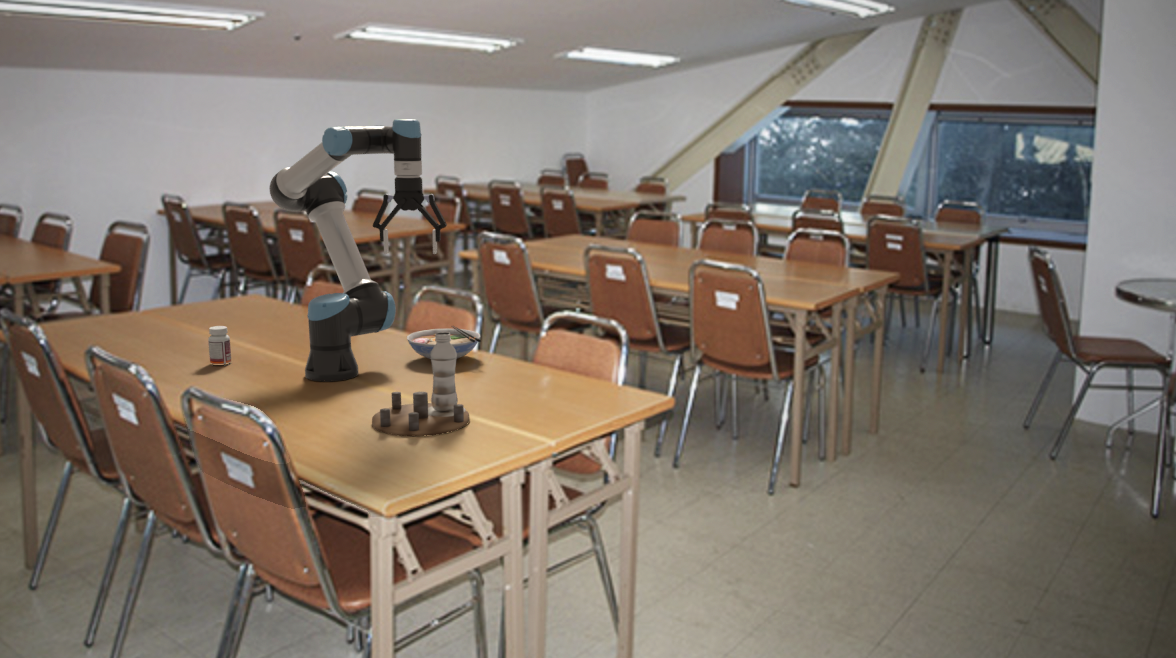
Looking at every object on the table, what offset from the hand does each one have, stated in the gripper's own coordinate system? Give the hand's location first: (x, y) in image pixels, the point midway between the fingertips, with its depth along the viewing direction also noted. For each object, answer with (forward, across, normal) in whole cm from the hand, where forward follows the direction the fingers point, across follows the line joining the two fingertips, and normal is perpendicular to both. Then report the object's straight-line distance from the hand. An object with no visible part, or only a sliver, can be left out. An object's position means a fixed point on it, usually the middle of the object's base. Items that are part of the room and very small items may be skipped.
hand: (410, 253), depth 286 cm
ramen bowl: (+37, +5, +25) cm, 45 cm away
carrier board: (+37, +8, -39) cm, 54 cm away
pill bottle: (+37, -62, +18) cm, 74 cm away
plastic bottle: (+36, +13, -34) cm, 51 cm away
